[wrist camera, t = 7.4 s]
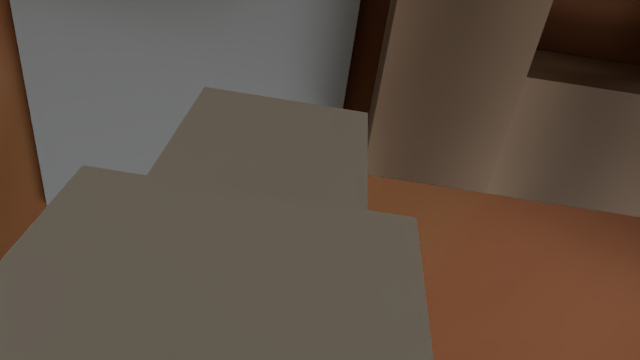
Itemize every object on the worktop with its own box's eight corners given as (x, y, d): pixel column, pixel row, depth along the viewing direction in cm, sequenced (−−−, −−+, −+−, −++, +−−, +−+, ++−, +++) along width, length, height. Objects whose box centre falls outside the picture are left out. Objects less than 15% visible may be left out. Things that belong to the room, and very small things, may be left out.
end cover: (400, 91, 12) (452, 511, 4) (361, 261, 14) (351, 697, 7) (176, 56, 12) (-140, 422, 4) (178, 232, 14) (-19, 643, 7)
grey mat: (365, -33, 18) (365, -29, 17) (320, 248, 24) (318, 257, 24) (5, -88, 18) (-6, -85, 17) (55, 207, 24) (48, 214, 24)
